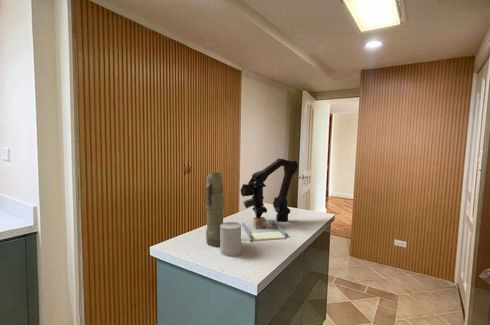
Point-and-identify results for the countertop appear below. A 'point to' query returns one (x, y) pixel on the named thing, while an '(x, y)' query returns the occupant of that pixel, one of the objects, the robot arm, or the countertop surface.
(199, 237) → the countertop surface
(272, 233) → the board
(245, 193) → the robot arm
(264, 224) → the walnut block
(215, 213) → the thermos
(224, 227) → the grey concrete cylinder
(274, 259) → the countertop surface
